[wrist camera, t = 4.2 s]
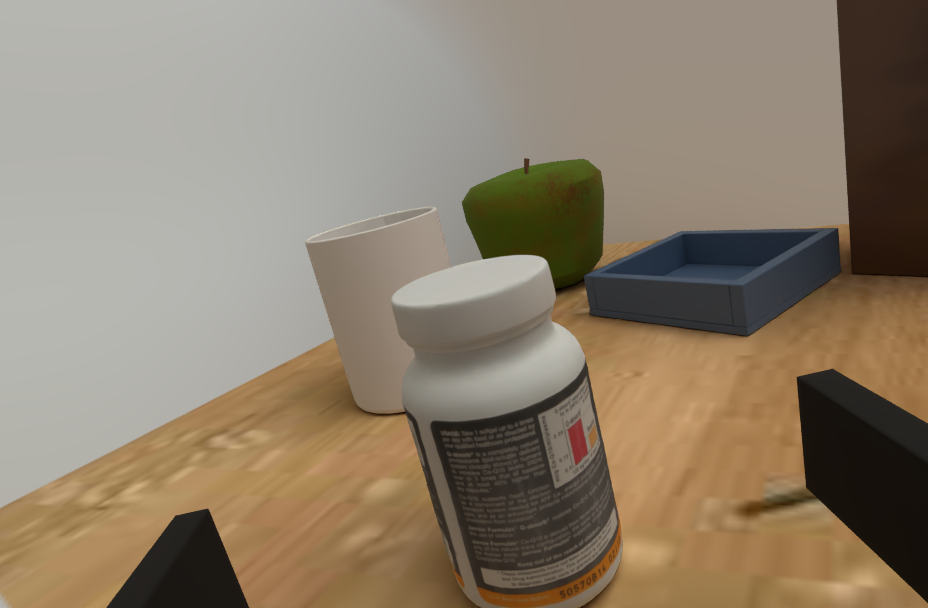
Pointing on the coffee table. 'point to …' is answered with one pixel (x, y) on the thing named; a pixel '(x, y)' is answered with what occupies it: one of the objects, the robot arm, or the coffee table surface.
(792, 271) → the blue tray
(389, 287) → the mug
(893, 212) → the stand
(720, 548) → the coffee table surface
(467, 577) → the pill bottle
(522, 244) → the apple
